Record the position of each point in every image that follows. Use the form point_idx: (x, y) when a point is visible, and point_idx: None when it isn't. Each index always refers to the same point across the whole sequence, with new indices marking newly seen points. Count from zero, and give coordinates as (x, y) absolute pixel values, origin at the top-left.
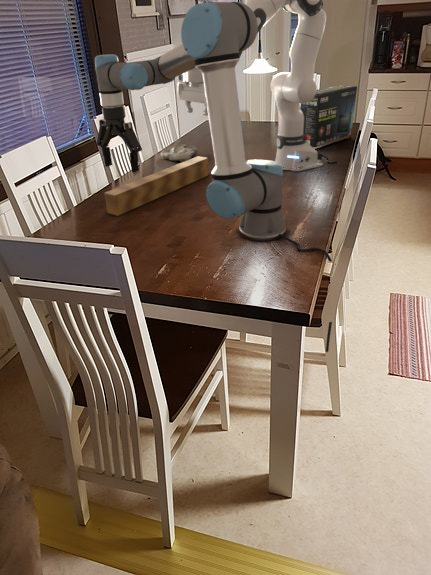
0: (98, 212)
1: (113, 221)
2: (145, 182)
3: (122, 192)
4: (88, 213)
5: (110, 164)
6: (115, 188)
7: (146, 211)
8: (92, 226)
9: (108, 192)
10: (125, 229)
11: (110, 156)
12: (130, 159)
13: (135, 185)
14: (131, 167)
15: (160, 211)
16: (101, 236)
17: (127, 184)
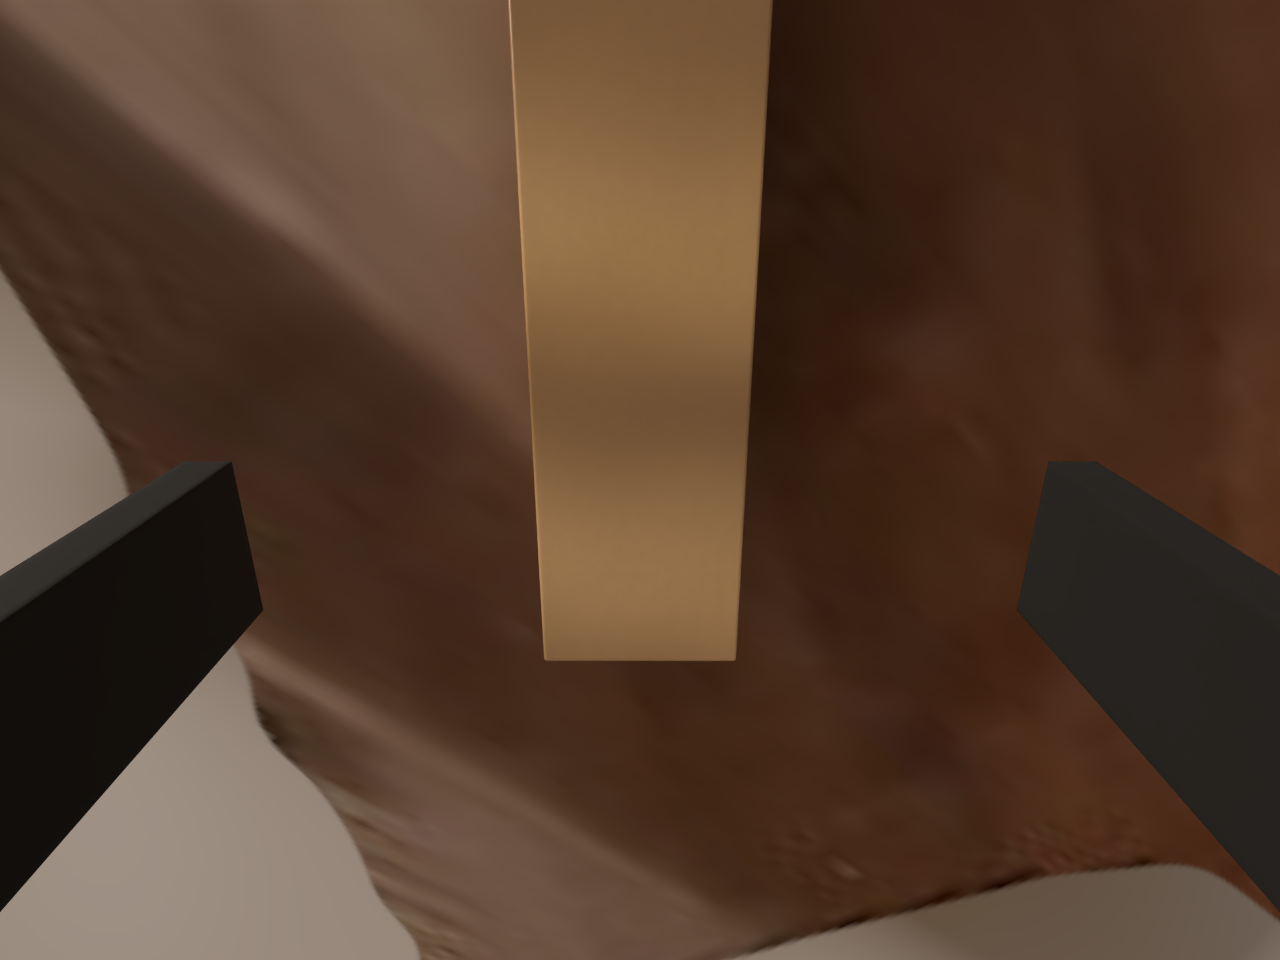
0: (483, 572)
1: (766, 639)
2: (749, 15)
3: (741, 544)
4: (426, 630)
5: (229, 519)
6: (537, 485)
7: (894, 313)
8: (687, 774)
9: (583, 630)
10: (971, 694)
11: (105, 577)
12: (1204, 812)
13: (701, 238)
14: (1071, 665)
15: (1041, 230)
16: (883, 842)
17: (550, 267)
